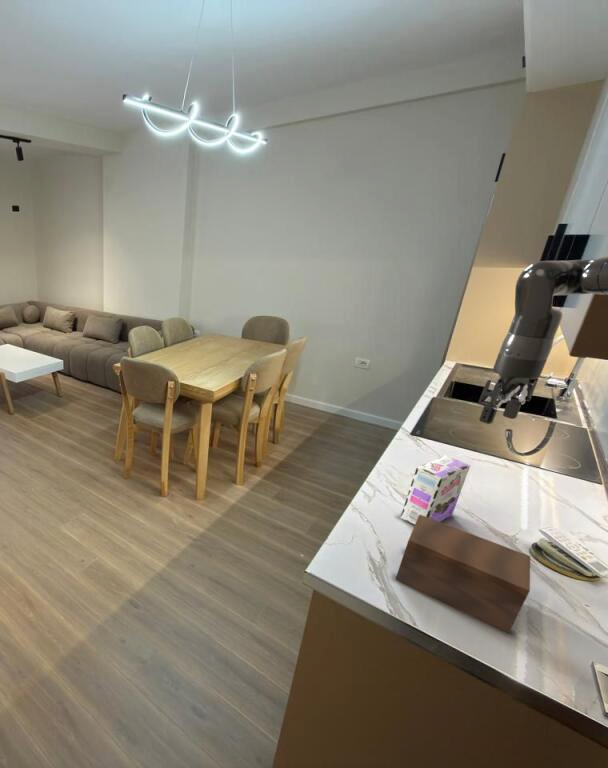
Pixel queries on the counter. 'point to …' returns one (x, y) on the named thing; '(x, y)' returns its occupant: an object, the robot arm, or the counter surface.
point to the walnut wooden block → (466, 572)
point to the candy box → (435, 490)
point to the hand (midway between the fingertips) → (497, 419)
